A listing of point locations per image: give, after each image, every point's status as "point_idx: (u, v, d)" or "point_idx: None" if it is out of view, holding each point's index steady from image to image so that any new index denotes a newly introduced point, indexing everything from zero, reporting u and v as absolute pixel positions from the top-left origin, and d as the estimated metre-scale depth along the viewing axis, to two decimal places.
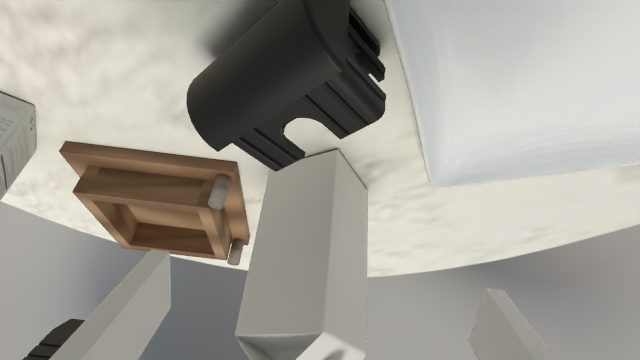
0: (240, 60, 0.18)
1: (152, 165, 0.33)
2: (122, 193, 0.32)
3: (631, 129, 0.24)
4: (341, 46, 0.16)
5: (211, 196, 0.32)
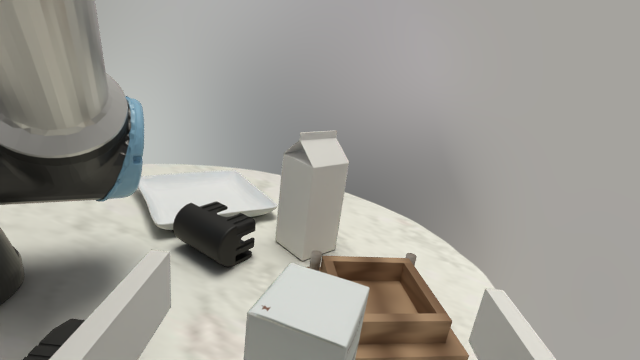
0: (194, 228, 0.49)
1: None
2: None
3: (239, 188, 0.75)
4: None
5: (312, 257, 0.48)
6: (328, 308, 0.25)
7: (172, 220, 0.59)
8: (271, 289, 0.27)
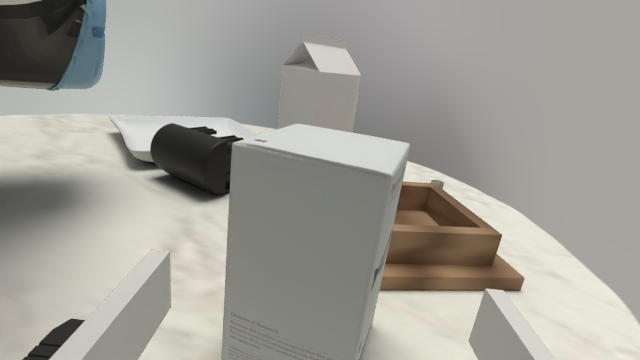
0: (175, 147, 0.40)
1: None
2: None
3: (232, 134, 0.66)
4: None
5: None
6: (355, 148, 0.17)
7: None
8: (269, 132, 0.18)
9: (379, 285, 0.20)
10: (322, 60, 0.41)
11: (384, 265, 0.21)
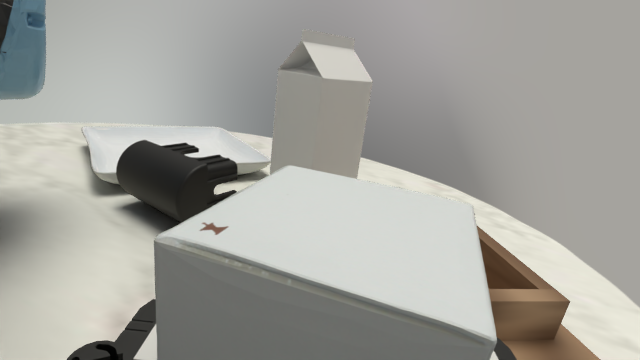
0: (144, 171, 0.32)
1: None
2: None
3: (223, 146, 0.58)
4: None
5: None
6: (393, 234, 0.09)
7: None
8: (238, 196, 0.10)
9: None
10: (326, 64, 0.34)
11: None
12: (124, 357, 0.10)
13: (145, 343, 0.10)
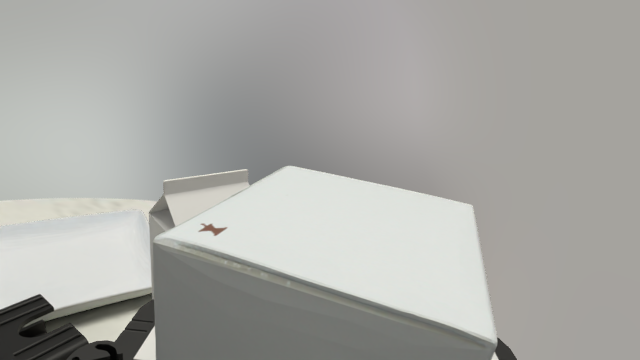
0: None
1: None
2: None
3: (136, 240, 0.51)
4: None
5: None
6: (393, 236, 0.09)
7: None
8: (237, 197, 0.10)
9: None
10: None
11: None
12: (124, 357, 0.10)
13: (145, 343, 0.10)
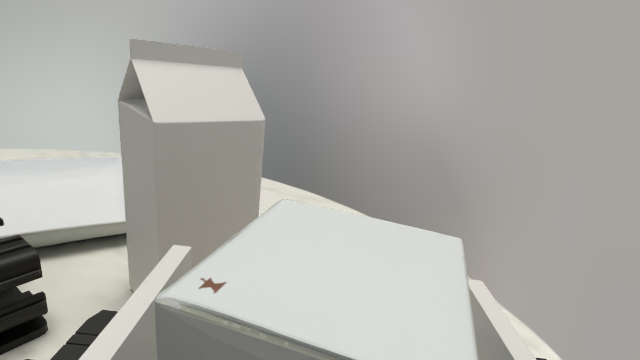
0: None
1: None
2: None
3: None
4: None
5: None
6: (385, 283, 0.09)
7: None
8: (234, 242, 0.11)
9: None
10: (171, 96, 0.20)
11: None
12: None
13: None
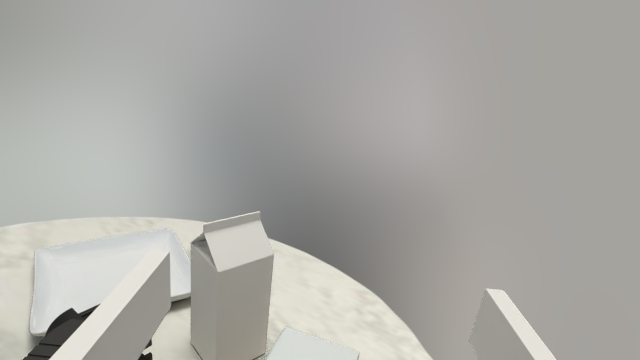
0: None
1: None
2: None
3: (170, 254, 0.63)
4: None
5: None
6: None
7: None
8: None
9: None
10: (225, 252, 0.39)
11: None
12: None
13: None
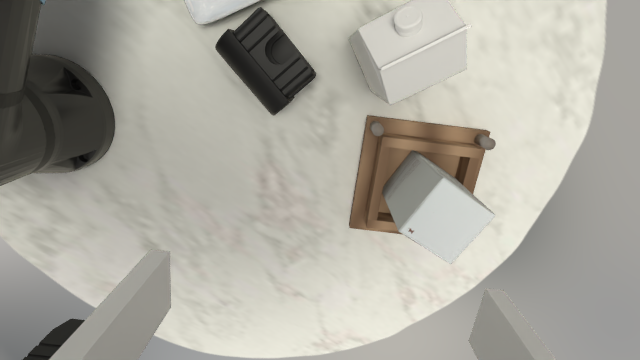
0: (243, 79, 0.41)
1: (362, 173, 0.48)
2: (371, 196, 0.46)
3: None
4: None
5: (372, 132, 0.44)
6: (452, 236, 0.37)
7: None
8: (418, 212, 0.36)
9: None
10: (402, 84, 0.30)
11: None
12: None
13: None
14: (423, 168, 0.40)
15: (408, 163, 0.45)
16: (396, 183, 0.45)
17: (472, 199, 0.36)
